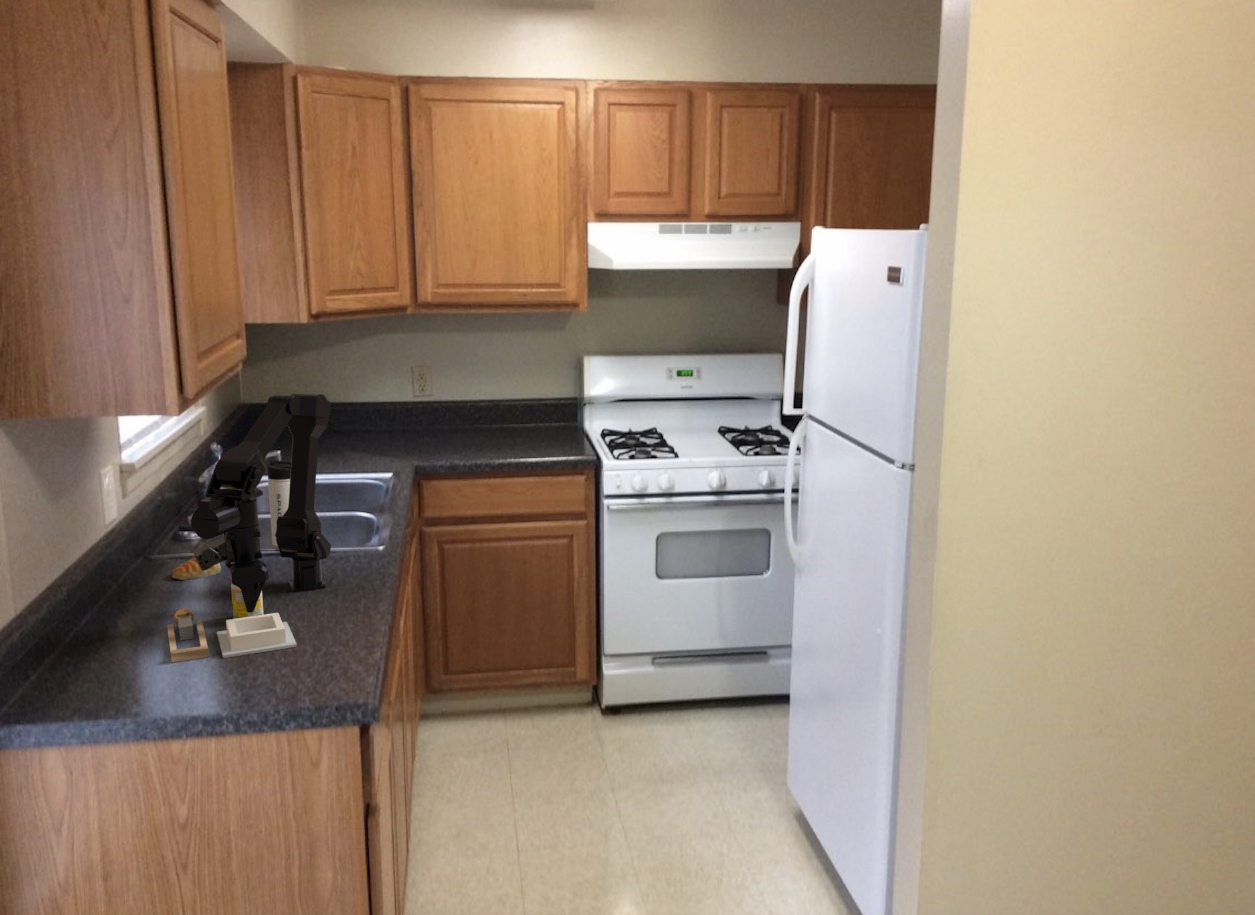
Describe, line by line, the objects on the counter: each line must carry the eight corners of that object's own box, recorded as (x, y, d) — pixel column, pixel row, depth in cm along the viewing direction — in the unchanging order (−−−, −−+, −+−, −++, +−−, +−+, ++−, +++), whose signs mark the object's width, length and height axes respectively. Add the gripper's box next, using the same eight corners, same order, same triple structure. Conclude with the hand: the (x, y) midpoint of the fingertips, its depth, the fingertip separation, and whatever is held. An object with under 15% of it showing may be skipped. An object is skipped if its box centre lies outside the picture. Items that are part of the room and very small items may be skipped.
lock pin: (175, 626, 188) (173, 609, 187) (193, 623, 189) (192, 607, 188) (177, 640, 181) (175, 623, 180) (196, 638, 182) (195, 620, 182)
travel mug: (290, 541, 242) (284, 458, 238) (306, 546, 237) (301, 462, 233) (266, 547, 237) (260, 462, 233) (282, 552, 233) (276, 466, 229)
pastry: (183, 584, 212) (181, 566, 211) (165, 578, 216) (164, 560, 215) (224, 573, 219) (223, 556, 218) (206, 567, 223) (205, 550, 222)
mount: (167, 630, 186) (166, 622, 186) (202, 625, 188) (201, 617, 188) (171, 662, 172) (170, 654, 171) (208, 656, 174) (208, 648, 174)
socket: (217, 634, 184) (215, 618, 183) (286, 624, 189) (285, 608, 189) (223, 658, 174) (221, 641, 173) (296, 646, 179) (295, 630, 178)
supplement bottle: (257, 623, 189) (254, 574, 187) (228, 623, 189) (224, 573, 187) (268, 613, 195) (264, 565, 193) (239, 613, 195) (236, 564, 193)
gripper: (191, 517, 193) (197, 596, 196) (198, 542, 177) (205, 628, 180) (253, 511, 198) (259, 588, 201) (266, 535, 181) (271, 619, 185)
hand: (247, 605), depth 191 cm, fingers open, 8 cm apart
